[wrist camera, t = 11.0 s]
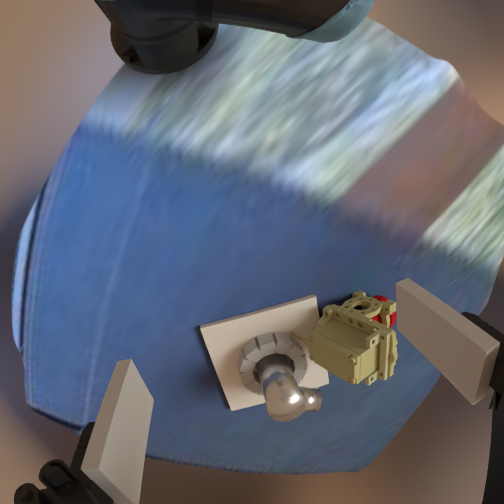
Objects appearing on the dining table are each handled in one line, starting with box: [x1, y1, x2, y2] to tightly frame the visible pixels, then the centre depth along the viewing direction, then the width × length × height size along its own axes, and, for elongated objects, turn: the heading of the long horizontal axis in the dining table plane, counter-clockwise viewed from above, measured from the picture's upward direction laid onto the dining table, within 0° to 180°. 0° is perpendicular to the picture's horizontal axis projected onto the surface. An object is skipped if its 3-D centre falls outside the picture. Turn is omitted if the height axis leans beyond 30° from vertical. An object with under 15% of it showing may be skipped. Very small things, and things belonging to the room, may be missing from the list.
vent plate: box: [200, 294, 329, 411], centre depth 49 cm, size 18×18×4 cm
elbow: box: [256, 353, 322, 422], centre depth 44 cm, size 8×5×12 cm, turn 73°
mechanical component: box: [291, 291, 398, 386], centre depth 45 cm, size 8×17×20 cm, turn 100°
